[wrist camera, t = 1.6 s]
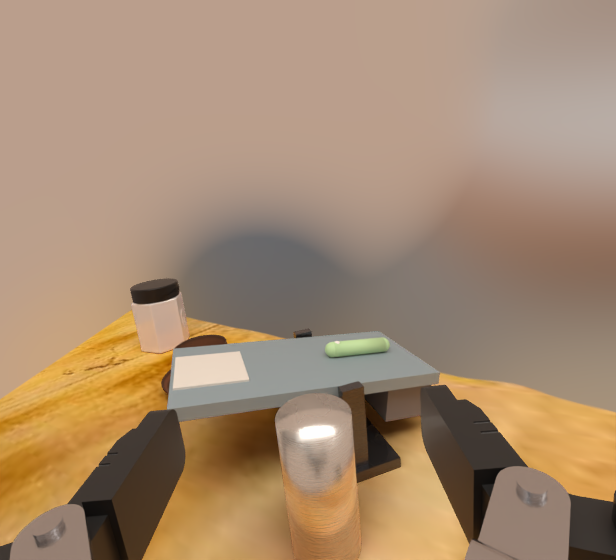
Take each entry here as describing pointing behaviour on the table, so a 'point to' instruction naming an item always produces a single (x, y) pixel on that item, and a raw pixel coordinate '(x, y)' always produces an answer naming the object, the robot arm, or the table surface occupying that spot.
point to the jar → (159, 315)
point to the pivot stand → (364, 432)
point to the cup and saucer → (194, 342)
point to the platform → (296, 374)
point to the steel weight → (319, 477)
